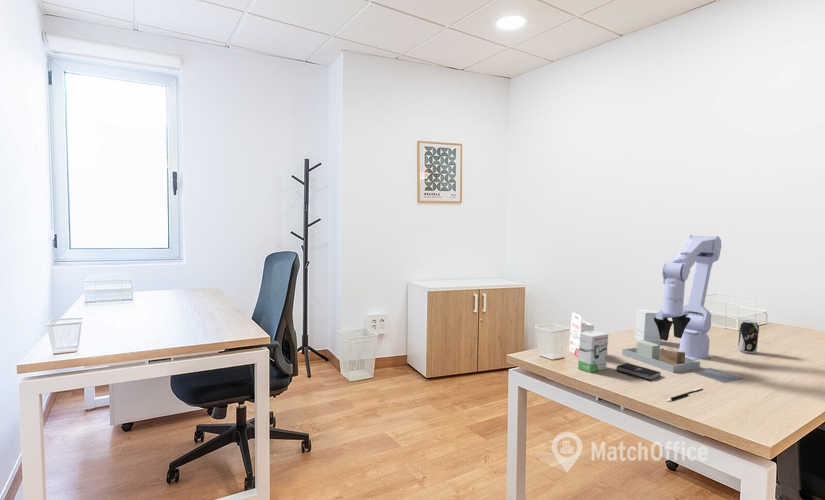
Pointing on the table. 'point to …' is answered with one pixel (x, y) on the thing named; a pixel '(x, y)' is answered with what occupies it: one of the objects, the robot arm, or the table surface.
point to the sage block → (648, 349)
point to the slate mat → (717, 375)
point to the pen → (684, 395)
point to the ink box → (593, 351)
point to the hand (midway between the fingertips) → (670, 338)
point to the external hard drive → (638, 371)
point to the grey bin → (687, 365)
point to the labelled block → (672, 356)
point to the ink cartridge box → (577, 332)
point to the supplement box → (646, 326)
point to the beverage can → (748, 336)
